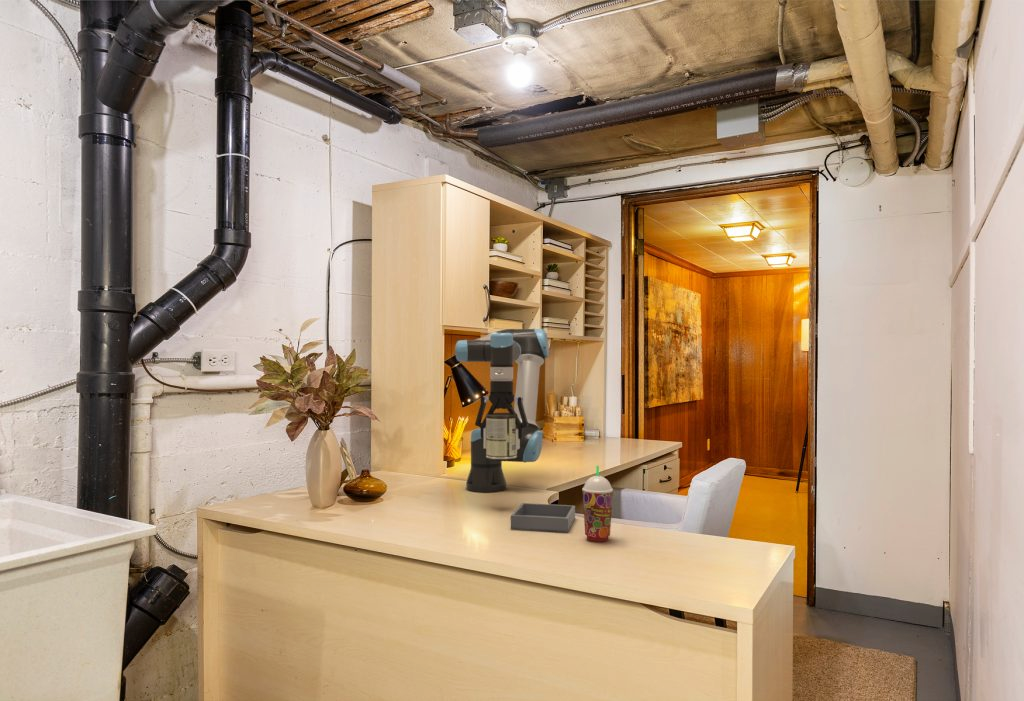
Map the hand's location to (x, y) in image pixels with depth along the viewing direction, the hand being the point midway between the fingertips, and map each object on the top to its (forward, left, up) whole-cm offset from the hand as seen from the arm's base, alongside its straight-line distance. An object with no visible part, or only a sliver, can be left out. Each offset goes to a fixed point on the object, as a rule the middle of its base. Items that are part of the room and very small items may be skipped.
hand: (501, 448), depth 214 cm
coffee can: (0, 0, -3) cm, 3 cm away
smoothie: (+28, +34, -20) cm, 48 cm away
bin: (+16, +17, -20) cm, 30 cm away
